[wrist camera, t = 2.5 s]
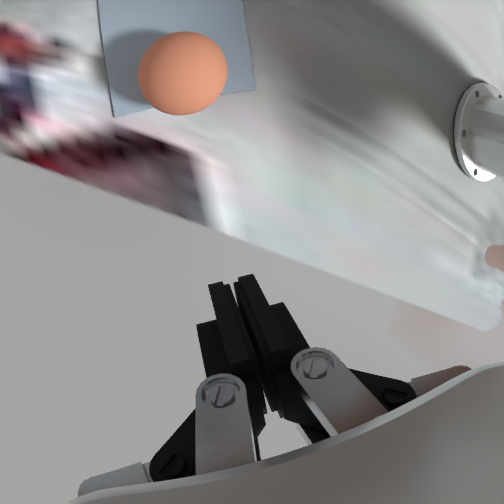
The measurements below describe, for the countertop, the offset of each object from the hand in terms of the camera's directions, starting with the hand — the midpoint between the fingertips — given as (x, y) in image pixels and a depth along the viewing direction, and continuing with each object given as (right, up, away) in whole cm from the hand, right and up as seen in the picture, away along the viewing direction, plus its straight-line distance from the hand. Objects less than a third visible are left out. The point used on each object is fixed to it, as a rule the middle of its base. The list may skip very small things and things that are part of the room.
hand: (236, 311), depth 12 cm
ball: (-4, +14, +7) cm, 16 cm away
